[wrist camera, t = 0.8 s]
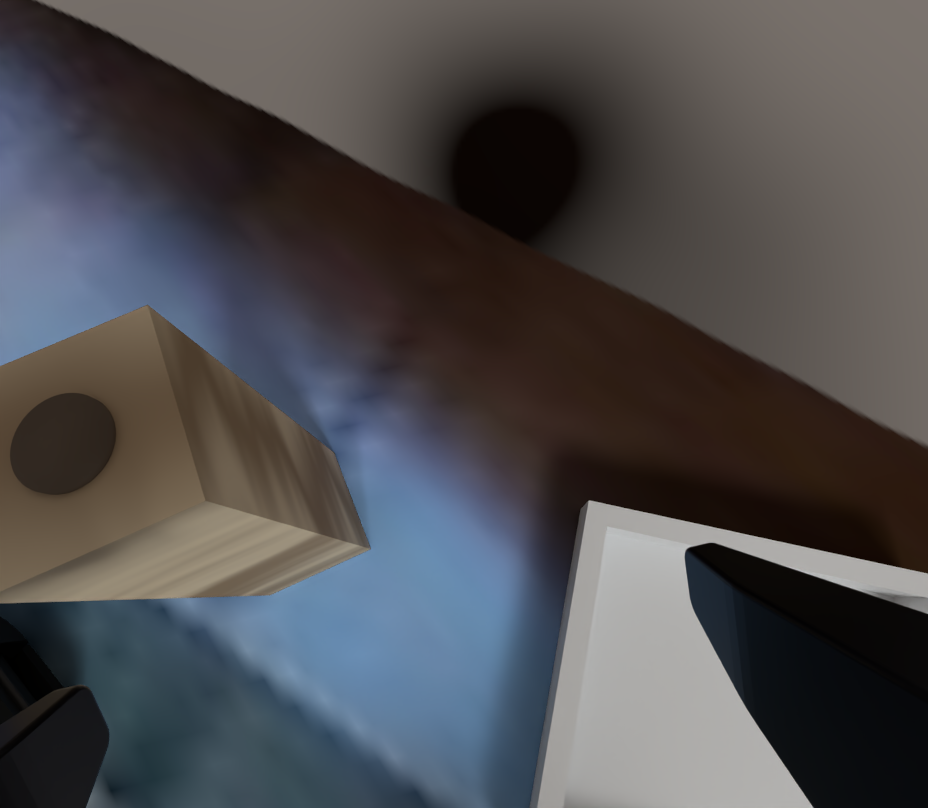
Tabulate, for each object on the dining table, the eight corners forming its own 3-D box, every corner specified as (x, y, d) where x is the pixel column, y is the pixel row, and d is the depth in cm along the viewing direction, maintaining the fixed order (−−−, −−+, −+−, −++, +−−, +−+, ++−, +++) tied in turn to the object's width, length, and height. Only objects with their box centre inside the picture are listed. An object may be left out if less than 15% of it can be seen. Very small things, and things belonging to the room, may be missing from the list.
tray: (902, 975, 19) (960, 1032, 16) (520, 860, 20) (522, 895, 18) (906, 580, 22) (954, 579, 20) (580, 509, 24) (588, 500, 22)
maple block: (370, 548, 24) (201, 499, 11) (269, 595, 24) (-36, 604, 10) (334, 452, 25) (143, 301, 12) (238, 495, 25) (-68, 389, 12)
